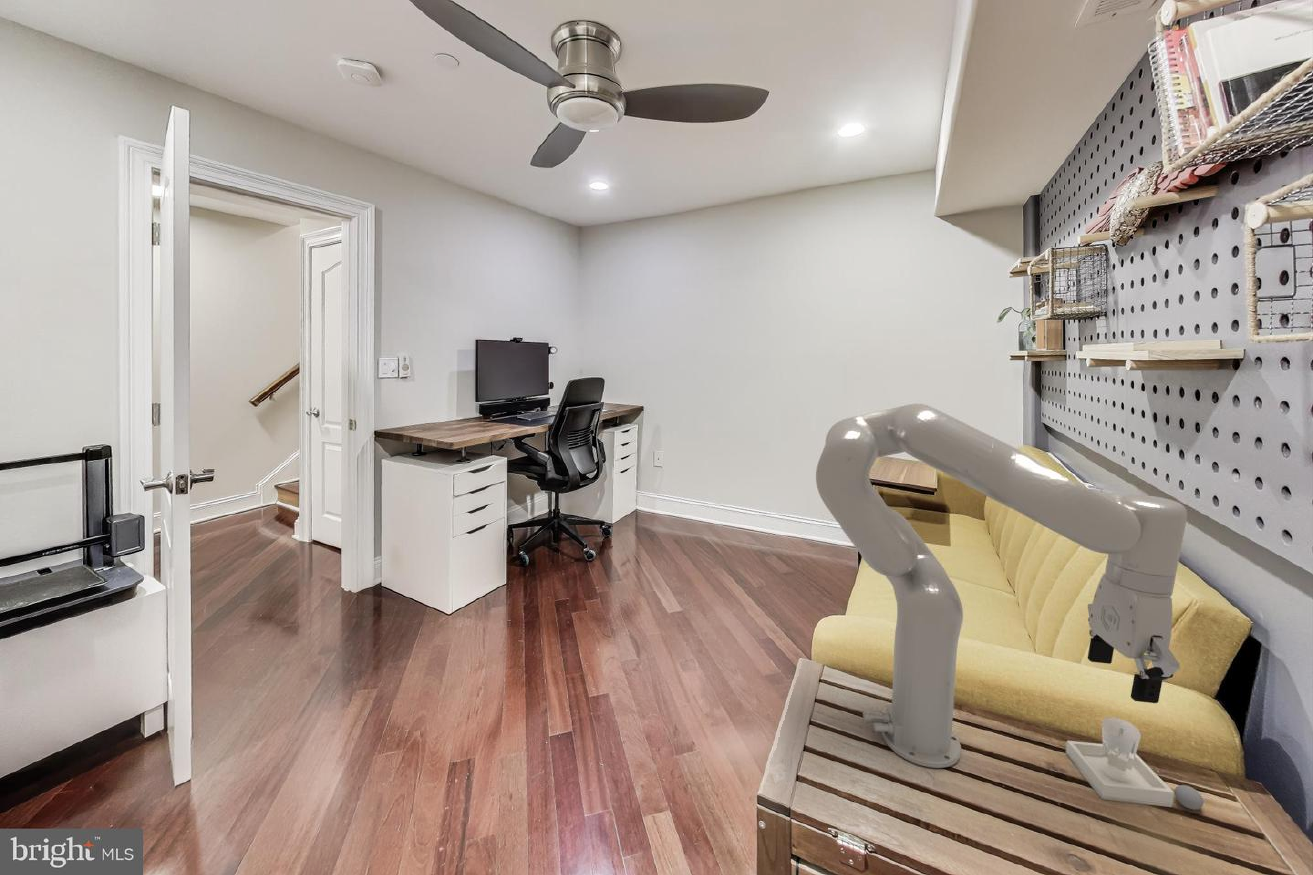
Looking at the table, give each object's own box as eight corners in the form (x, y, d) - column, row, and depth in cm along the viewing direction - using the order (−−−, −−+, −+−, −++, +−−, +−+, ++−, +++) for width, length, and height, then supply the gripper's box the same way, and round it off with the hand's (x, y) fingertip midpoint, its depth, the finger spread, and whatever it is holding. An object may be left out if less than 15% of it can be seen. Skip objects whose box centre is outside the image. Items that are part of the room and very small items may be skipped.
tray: (1102, 799, 77) (1103, 784, 77) (1065, 753, 86) (1066, 740, 86) (1172, 807, 76) (1174, 792, 75) (1127, 759, 85) (1129, 746, 84)
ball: (1184, 813, 75) (1186, 795, 74) (1167, 796, 78) (1170, 778, 77) (1208, 815, 74) (1210, 797, 74) (1190, 798, 77) (1193, 781, 77)
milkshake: (1095, 777, 80) (1101, 721, 79) (1097, 758, 84) (1104, 704, 83) (1134, 794, 77) (1141, 735, 76) (1135, 773, 81) (1142, 717, 80)
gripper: (1074, 553, 85) (1060, 646, 88) (1154, 601, 68) (1133, 715, 71) (1125, 557, 84) (1109, 651, 86) (1219, 607, 67) (1195, 722, 70)
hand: (1120, 680), depth 79 cm, fingers open, 9 cm apart
